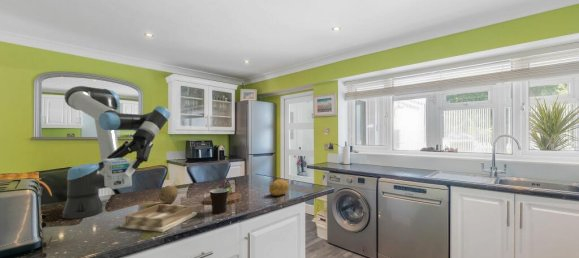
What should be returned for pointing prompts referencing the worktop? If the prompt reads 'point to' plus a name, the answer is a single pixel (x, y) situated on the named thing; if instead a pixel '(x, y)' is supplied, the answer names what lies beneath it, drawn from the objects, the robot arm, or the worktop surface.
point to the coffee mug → (219, 200)
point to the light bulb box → (116, 173)
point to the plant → (232, 196)
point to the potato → (278, 187)
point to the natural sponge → (168, 194)
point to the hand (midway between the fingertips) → (114, 175)
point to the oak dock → (158, 217)
